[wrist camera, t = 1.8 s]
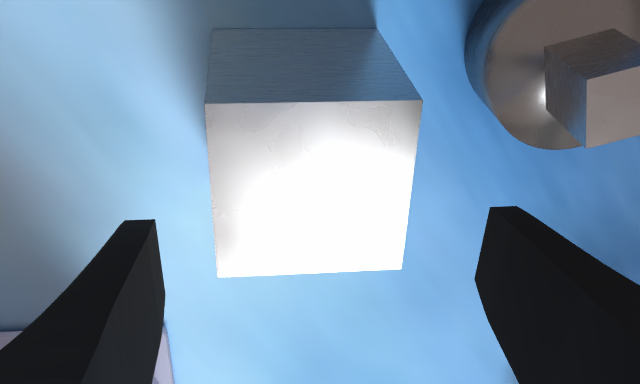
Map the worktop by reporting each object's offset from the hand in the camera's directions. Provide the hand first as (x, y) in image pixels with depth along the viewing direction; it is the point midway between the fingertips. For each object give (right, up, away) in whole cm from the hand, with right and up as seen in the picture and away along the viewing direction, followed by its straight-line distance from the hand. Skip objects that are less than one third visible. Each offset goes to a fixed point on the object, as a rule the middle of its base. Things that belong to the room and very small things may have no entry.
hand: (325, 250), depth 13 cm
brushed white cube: (-1, +4, +7) cm, 8 cm away
